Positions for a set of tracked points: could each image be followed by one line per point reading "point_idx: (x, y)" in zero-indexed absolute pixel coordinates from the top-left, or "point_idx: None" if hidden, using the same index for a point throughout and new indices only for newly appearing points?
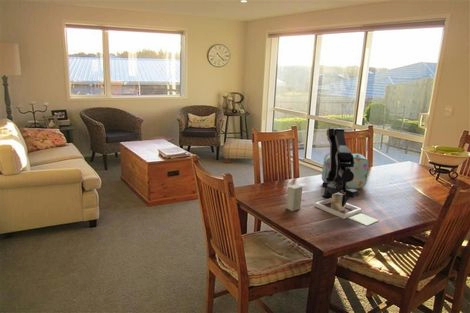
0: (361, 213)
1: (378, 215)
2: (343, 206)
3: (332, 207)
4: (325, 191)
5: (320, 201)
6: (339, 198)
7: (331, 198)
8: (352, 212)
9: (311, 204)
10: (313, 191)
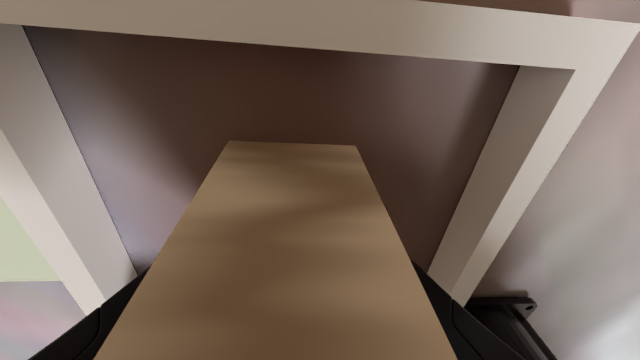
0: None
1: (28, 340)
2: None
3: (333, 157)
4: (549, 357)
5: (546, 159)
6: (148, 335)
7: None
8: (10, 200)
9: (623, 56)
10: (614, 313)
